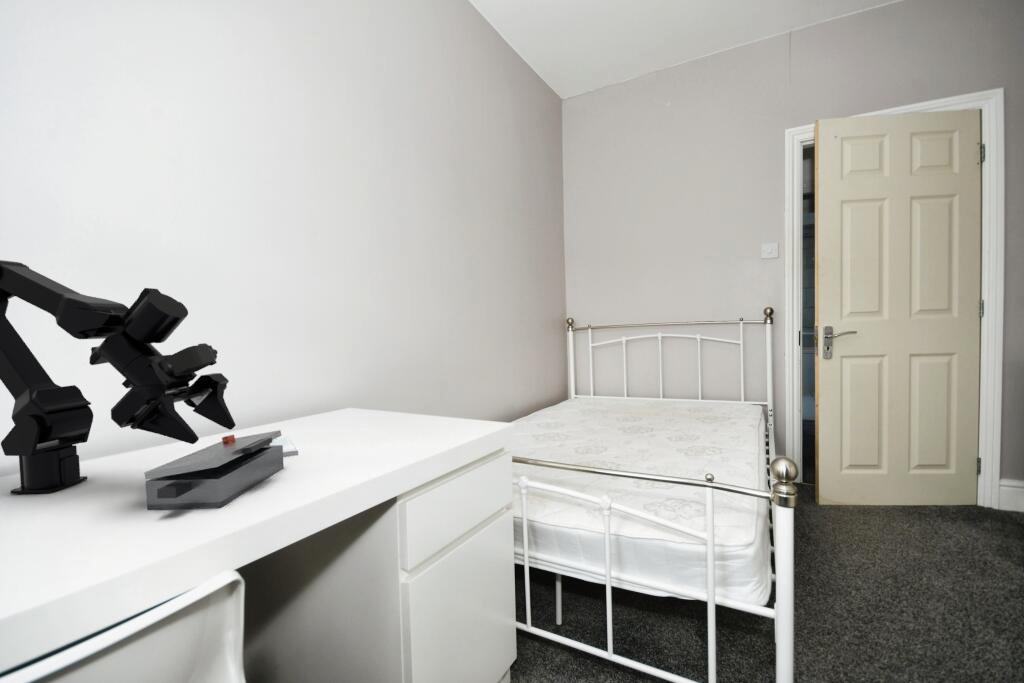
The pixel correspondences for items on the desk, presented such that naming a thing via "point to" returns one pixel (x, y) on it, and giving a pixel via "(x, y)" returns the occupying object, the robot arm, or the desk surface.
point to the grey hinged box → (214, 481)
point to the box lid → (214, 454)
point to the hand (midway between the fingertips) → (215, 434)
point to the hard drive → (286, 446)
